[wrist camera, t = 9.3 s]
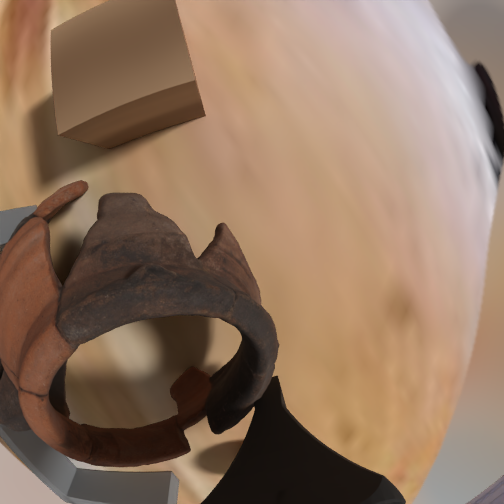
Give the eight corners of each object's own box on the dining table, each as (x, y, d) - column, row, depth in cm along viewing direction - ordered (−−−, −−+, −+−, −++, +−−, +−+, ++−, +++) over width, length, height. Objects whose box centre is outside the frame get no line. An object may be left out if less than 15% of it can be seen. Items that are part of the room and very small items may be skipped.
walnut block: (205, 116, 10) (195, 80, 6) (109, 149, 10) (57, 135, 6) (184, 34, 9) (169, -21, 5) (95, 67, 9) (50, 30, 5)
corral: (179, 480, 14) (176, 514, 11) (75, 475, 14) (65, 501, 11) (36, 204, 10) (-7, 212, 7) (-52, 259, 10) (-83, 272, 7)
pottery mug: (129, 117, 10) (210, 116, 4) (227, 269, 16) (331, 369, 10) (-46, 293, 8) (-86, 438, 2) (78, 389, 14) (113, 512, 8)
